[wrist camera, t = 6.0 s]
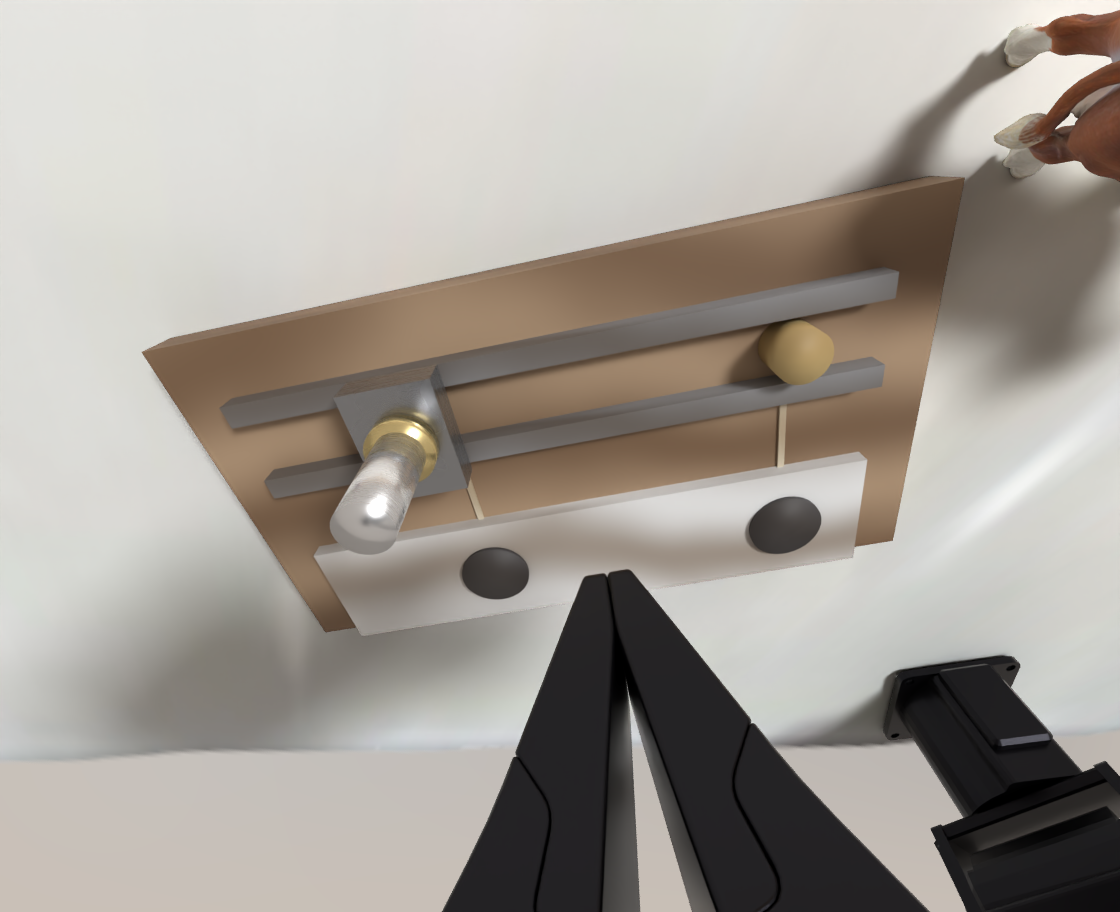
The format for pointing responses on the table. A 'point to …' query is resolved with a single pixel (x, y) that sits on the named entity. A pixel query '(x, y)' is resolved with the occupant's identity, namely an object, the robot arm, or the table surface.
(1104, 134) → the bull figurine
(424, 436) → the sliding handle
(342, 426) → the brown flat wooden board
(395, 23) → the table surface
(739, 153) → the table surface
